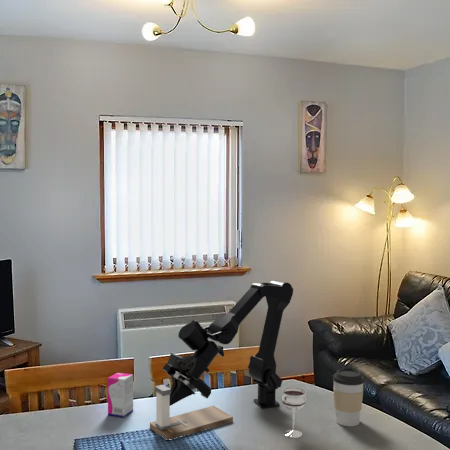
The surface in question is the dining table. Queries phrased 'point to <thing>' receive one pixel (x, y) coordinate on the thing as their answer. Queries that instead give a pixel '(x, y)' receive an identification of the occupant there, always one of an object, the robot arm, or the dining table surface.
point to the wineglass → (293, 406)
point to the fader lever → (162, 407)
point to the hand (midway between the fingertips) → (167, 404)
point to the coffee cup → (348, 396)
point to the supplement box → (120, 394)
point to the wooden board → (193, 422)
